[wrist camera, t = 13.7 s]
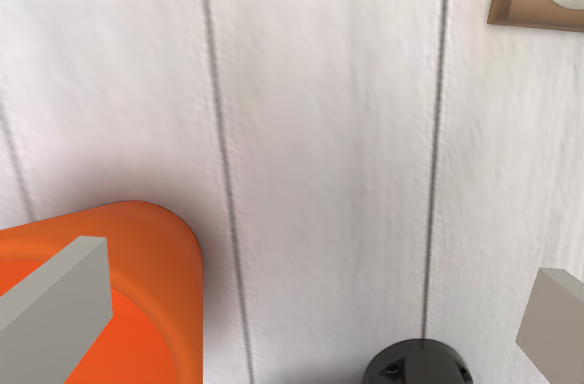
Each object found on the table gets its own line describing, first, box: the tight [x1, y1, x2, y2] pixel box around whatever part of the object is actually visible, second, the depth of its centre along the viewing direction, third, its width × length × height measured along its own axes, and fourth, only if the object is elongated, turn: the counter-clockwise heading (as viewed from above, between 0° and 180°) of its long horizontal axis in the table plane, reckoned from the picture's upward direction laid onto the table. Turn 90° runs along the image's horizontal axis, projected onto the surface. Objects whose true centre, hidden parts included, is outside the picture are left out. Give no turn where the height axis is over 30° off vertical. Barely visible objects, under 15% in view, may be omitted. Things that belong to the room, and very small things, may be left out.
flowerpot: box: [0, 201, 203, 384], centre depth 38 cm, size 25×25×20 cm
